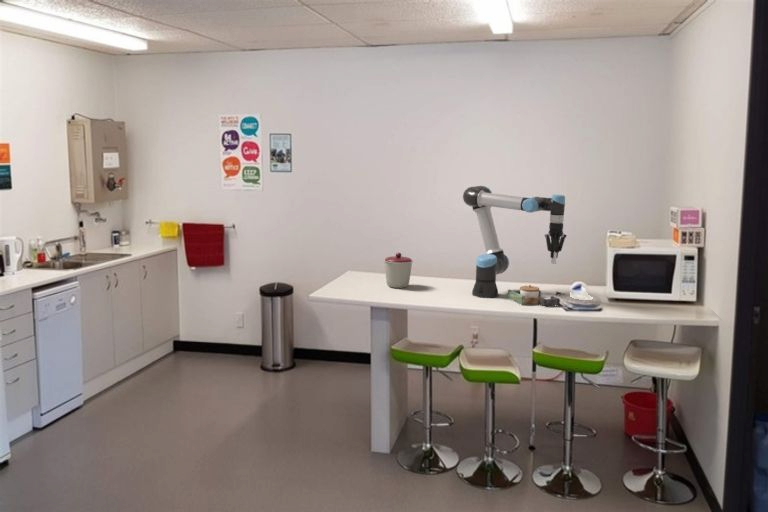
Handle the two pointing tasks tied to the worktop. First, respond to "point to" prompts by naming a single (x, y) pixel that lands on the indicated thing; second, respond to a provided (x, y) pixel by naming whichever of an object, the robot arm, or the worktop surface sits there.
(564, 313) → the worktop surface
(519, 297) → the trap box
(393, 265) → the canister
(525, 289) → the lidded jar
